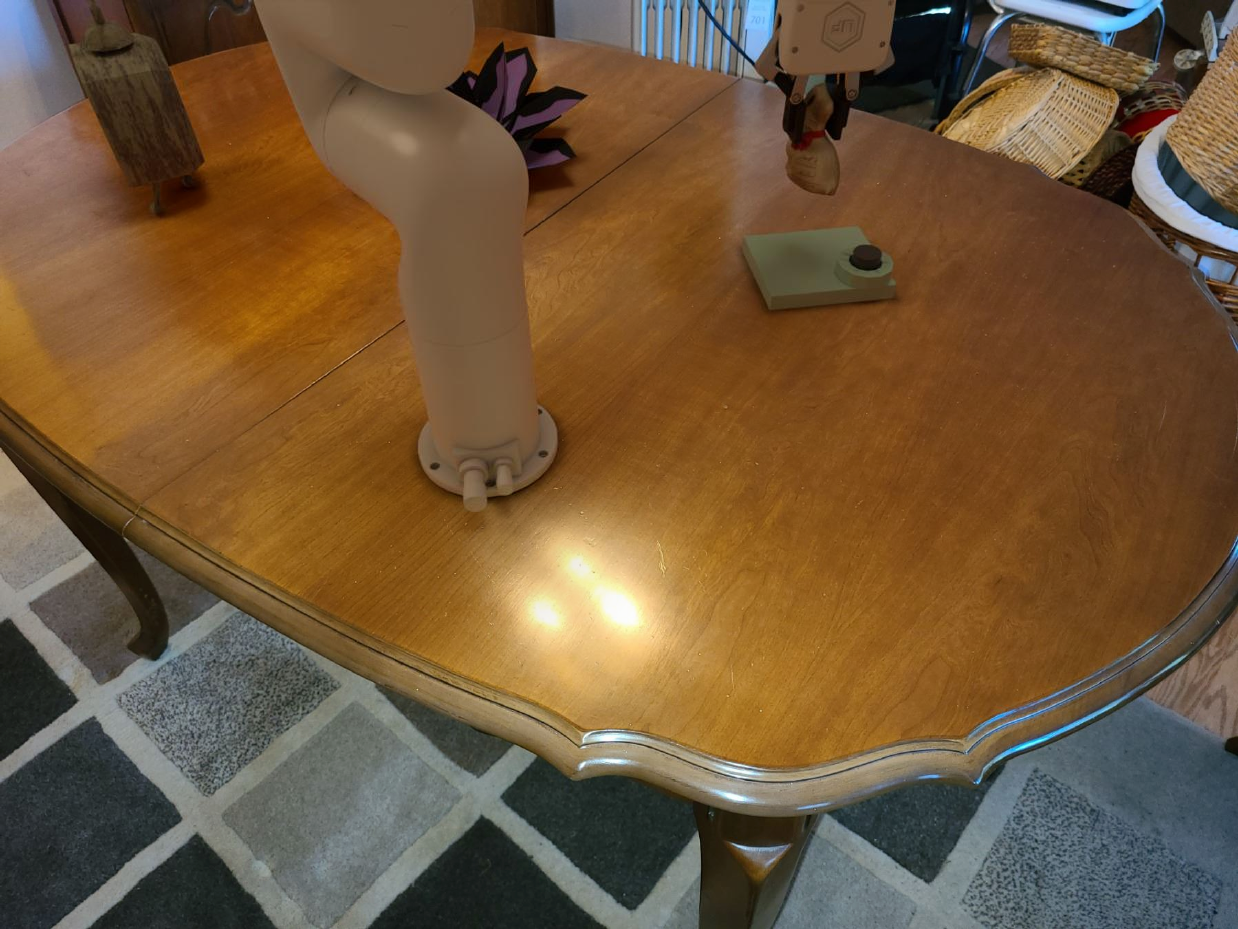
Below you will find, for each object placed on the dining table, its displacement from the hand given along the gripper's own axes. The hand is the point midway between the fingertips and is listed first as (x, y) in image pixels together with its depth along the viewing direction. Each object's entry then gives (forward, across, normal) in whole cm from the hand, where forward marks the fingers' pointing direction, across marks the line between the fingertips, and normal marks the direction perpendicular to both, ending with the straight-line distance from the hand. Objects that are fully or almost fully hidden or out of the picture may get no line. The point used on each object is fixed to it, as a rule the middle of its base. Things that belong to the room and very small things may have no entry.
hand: (812, 134), depth 85 cm
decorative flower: (+16, -36, +32) cm, 50 cm away
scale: (+16, +2, -2) cm, 16 cm away
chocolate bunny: (+5, 0, 0) cm, 5 cm away
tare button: (+13, +7, -5) cm, 15 cm away
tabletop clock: (+16, -74, +30) cm, 81 cm away
